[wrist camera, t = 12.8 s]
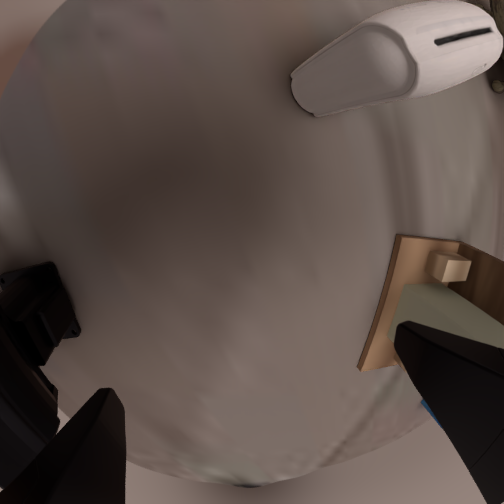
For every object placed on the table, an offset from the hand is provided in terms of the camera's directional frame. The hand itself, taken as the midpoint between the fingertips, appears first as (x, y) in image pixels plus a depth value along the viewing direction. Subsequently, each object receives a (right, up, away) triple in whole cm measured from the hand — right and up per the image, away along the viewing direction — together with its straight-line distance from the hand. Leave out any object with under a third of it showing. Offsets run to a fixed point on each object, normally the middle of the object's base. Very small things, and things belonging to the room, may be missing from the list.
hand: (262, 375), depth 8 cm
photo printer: (+7, +17, +10) cm, 20 cm away
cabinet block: (+16, -2, +17) cm, 23 cm away
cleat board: (+16, -2, +18) cm, 24 cm away
